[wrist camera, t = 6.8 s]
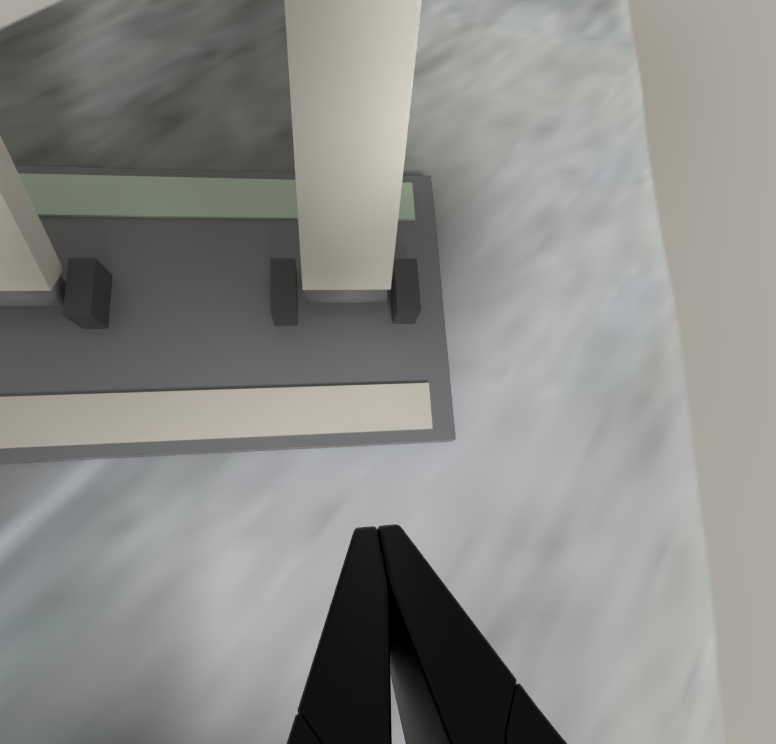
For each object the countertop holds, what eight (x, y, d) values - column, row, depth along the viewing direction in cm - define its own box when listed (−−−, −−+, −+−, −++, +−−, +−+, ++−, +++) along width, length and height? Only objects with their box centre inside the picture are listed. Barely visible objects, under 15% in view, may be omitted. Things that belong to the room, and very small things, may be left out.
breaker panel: (451, 441, 22) (465, 435, 19) (-103, 468, 19) (-164, 465, 16) (427, 185, 25) (438, 154, 23) (-52, 175, 22) (-96, 137, 20)
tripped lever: (391, 311, 21) (443, -151, 11) (301, 312, 20) (268, -172, 10) (386, 287, 22) (431, -154, 12) (301, 287, 22) (271, -173, 11)
